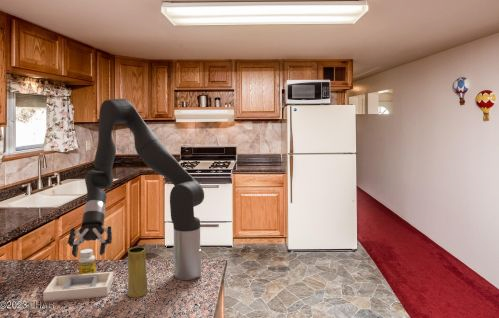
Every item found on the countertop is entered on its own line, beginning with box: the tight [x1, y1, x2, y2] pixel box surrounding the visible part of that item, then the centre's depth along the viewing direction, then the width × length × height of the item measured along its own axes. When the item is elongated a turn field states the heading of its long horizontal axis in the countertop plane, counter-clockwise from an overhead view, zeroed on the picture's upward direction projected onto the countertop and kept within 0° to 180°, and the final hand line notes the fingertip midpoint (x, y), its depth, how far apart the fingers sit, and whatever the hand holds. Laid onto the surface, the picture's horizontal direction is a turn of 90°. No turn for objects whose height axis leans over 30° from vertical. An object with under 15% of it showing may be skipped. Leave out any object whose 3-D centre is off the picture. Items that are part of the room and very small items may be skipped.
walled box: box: [42, 271, 114, 303], centre depth 110 cm, size 18×11×3 cm, turn 103°
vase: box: [127, 246, 149, 298], centre depth 108 cm, size 6×6×14 cm
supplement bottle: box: [77, 248, 97, 275], centre depth 119 cm, size 5×5×10 cm
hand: (88, 255), depth 120 cm, fingers open, 8 cm apart
